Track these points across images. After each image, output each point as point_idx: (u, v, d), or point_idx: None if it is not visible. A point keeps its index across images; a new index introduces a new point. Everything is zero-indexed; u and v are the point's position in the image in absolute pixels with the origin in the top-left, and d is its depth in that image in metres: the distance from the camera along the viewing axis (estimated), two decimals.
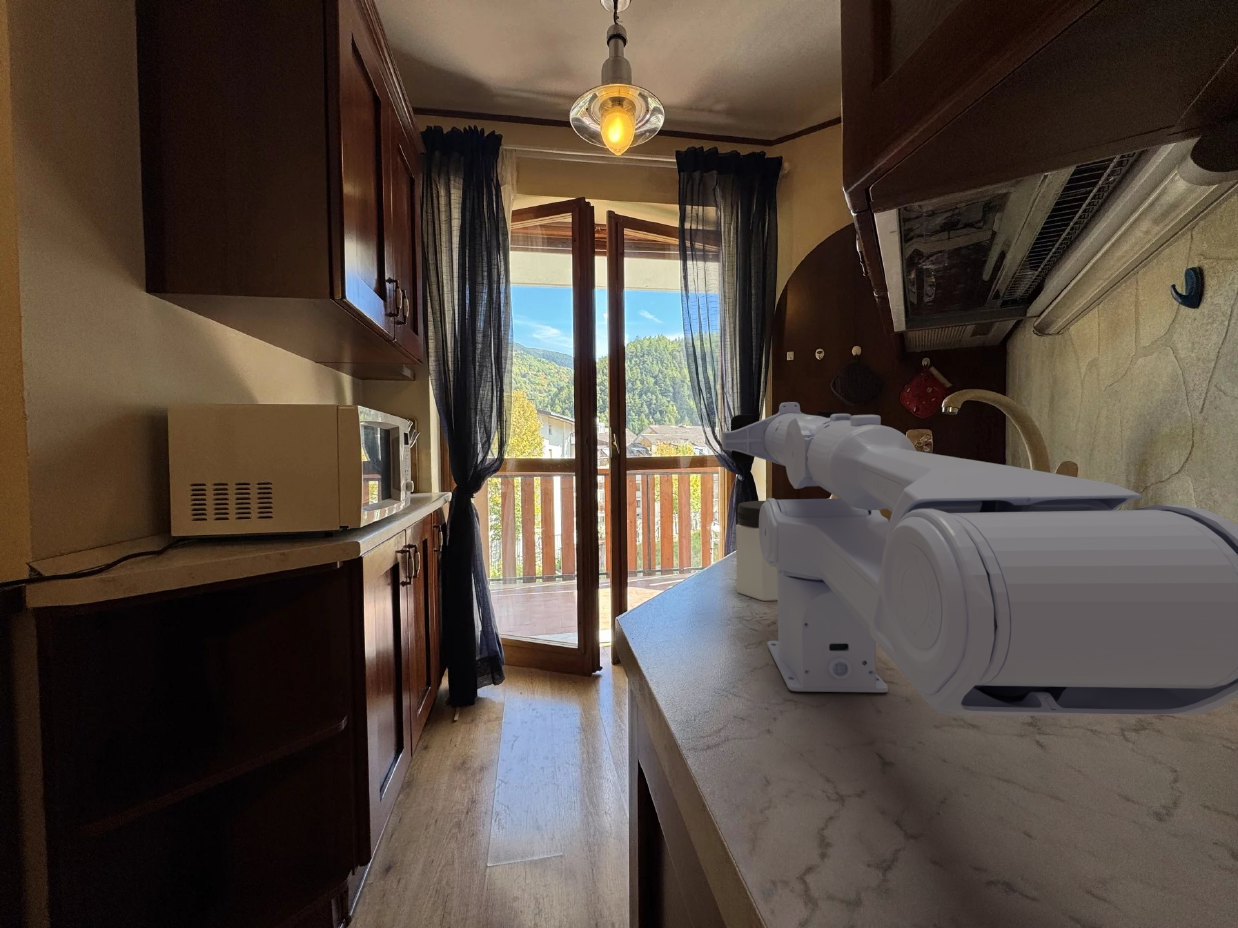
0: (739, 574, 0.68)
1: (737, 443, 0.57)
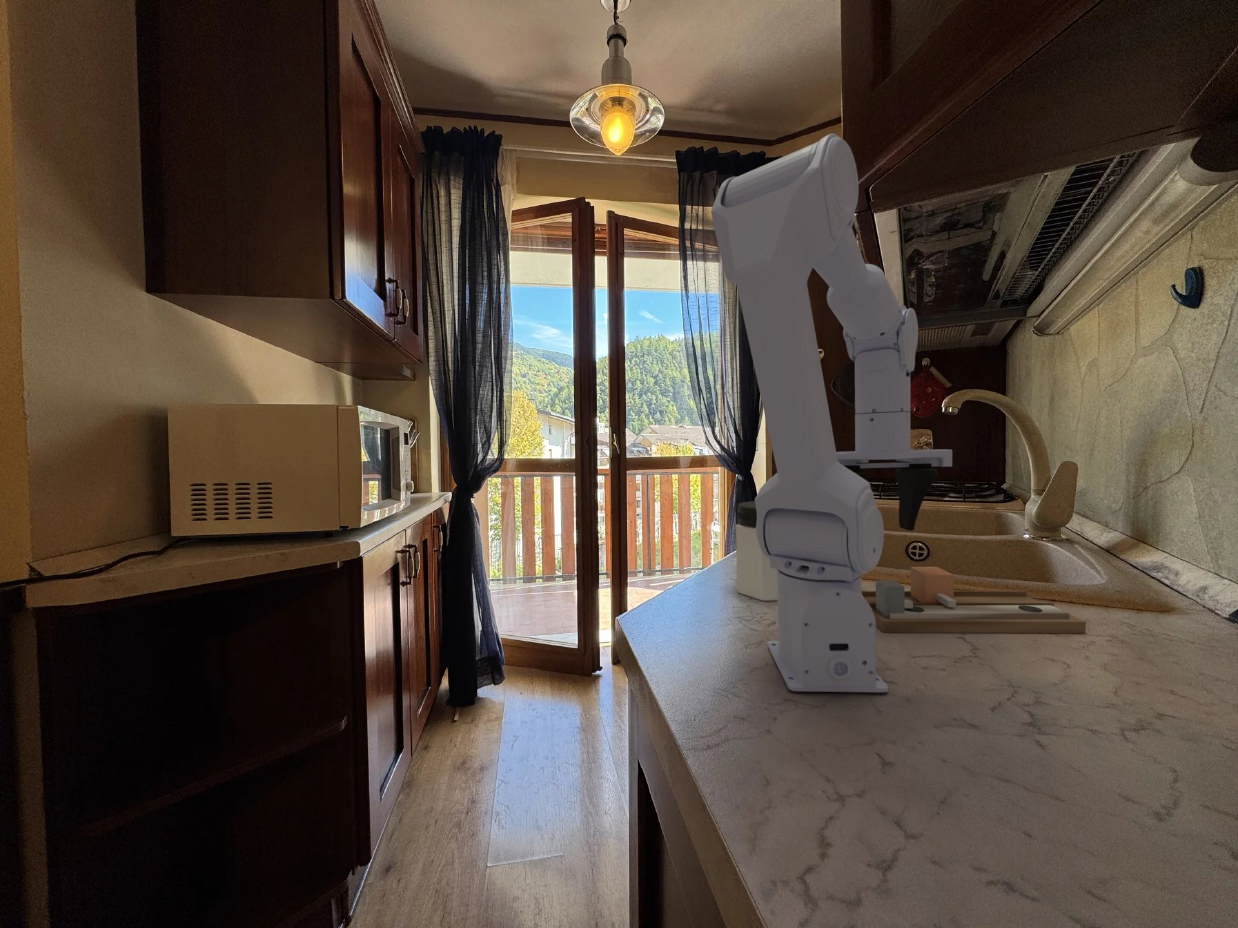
0: (739, 574, 0.68)
1: None
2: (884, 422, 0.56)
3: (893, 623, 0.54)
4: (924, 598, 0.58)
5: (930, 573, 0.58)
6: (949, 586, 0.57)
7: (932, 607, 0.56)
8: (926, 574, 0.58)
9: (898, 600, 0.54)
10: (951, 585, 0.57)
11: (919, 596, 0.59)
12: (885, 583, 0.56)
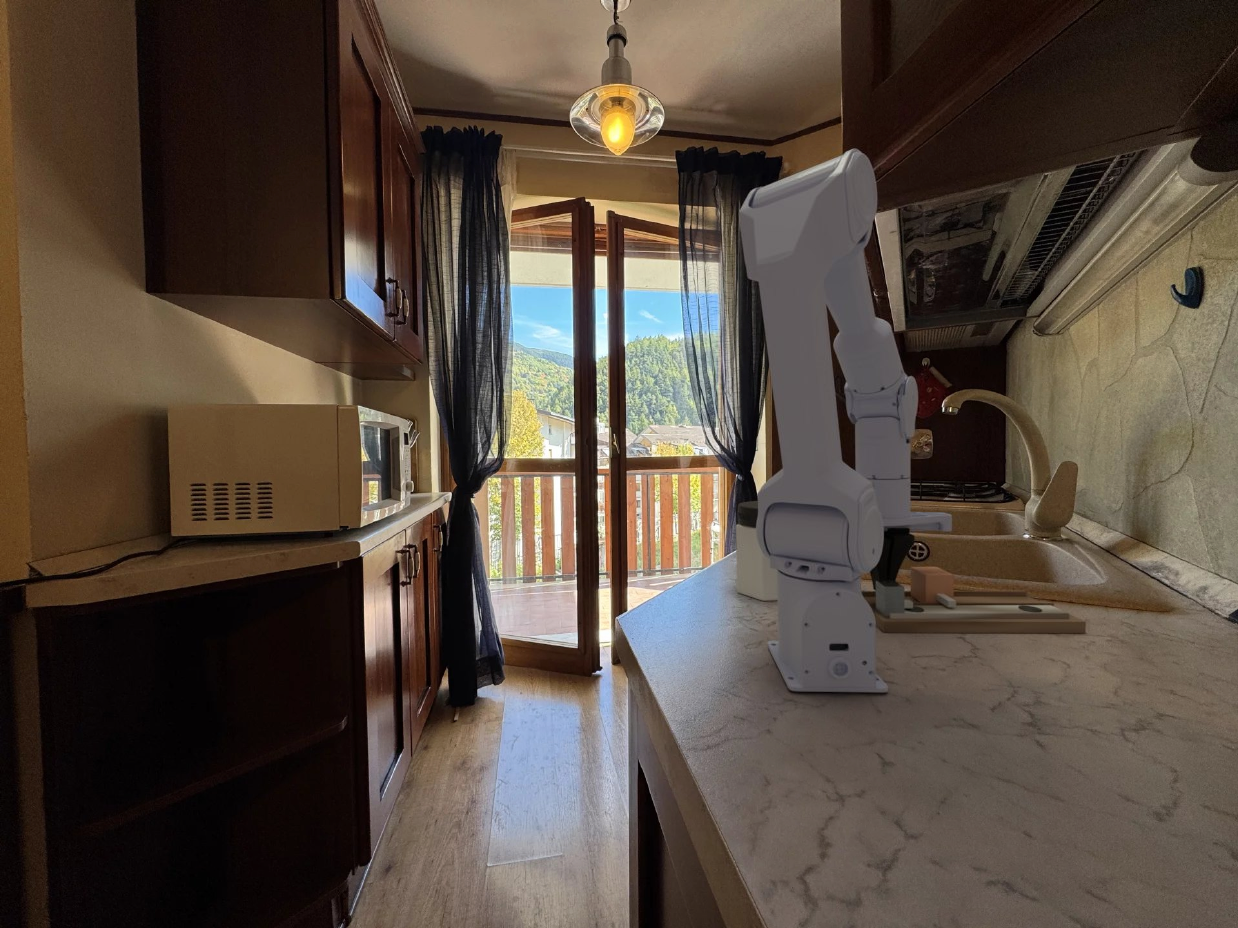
0: (739, 574, 0.68)
1: None
2: (884, 489, 0.57)
3: (893, 623, 0.54)
4: (924, 598, 0.58)
5: (930, 573, 0.58)
6: (949, 586, 0.57)
7: (932, 607, 0.56)
8: (926, 574, 0.58)
9: (898, 600, 0.54)
10: (951, 585, 0.57)
11: (919, 596, 0.59)
12: (885, 583, 0.56)
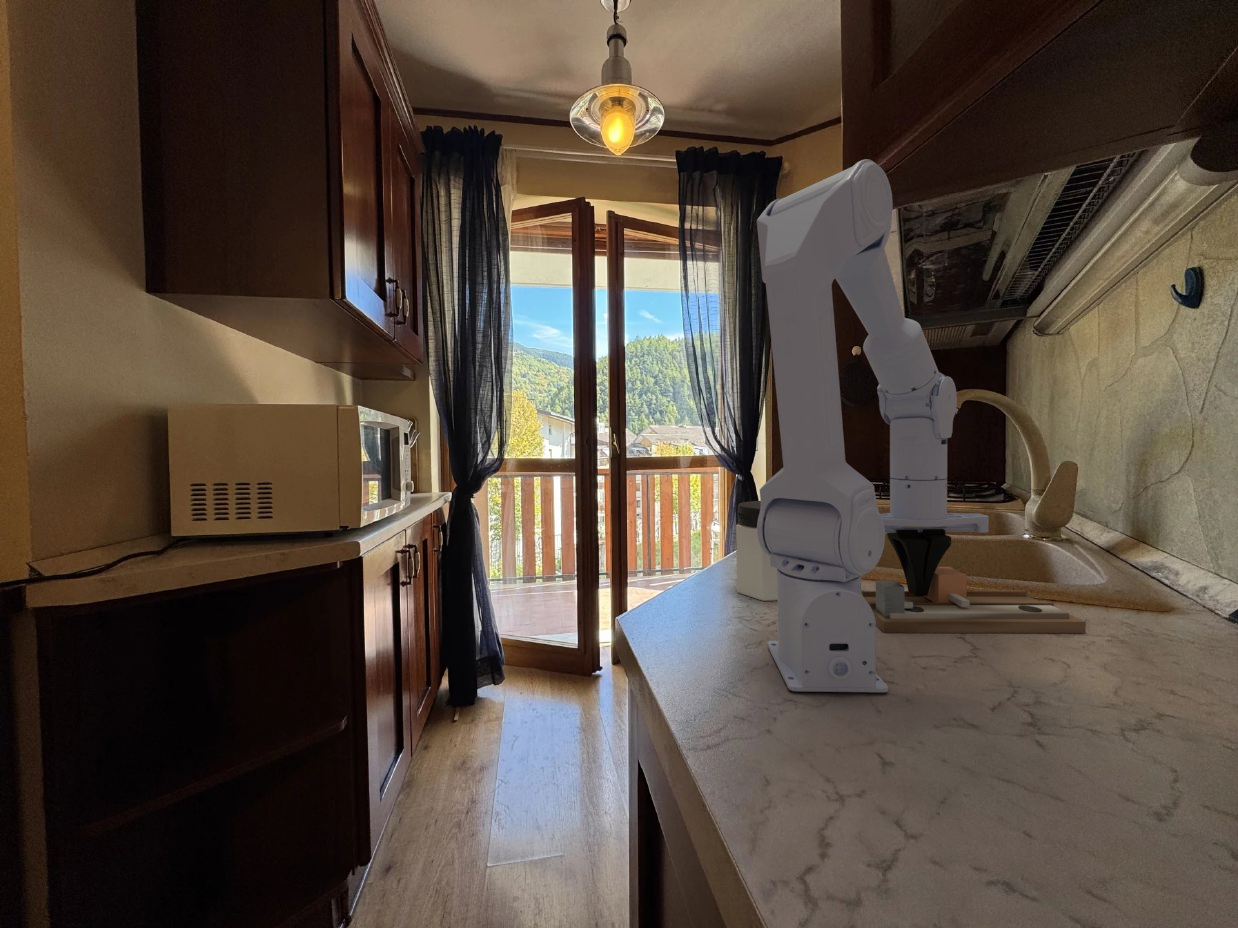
0: (739, 574, 0.68)
1: None
2: (921, 490, 0.56)
3: (893, 623, 0.54)
4: (937, 598, 0.58)
5: (943, 573, 0.58)
6: (962, 586, 0.57)
7: (932, 607, 0.56)
8: (939, 574, 0.58)
9: (898, 600, 0.54)
10: (963, 585, 0.57)
11: (932, 596, 0.59)
12: (885, 583, 0.56)
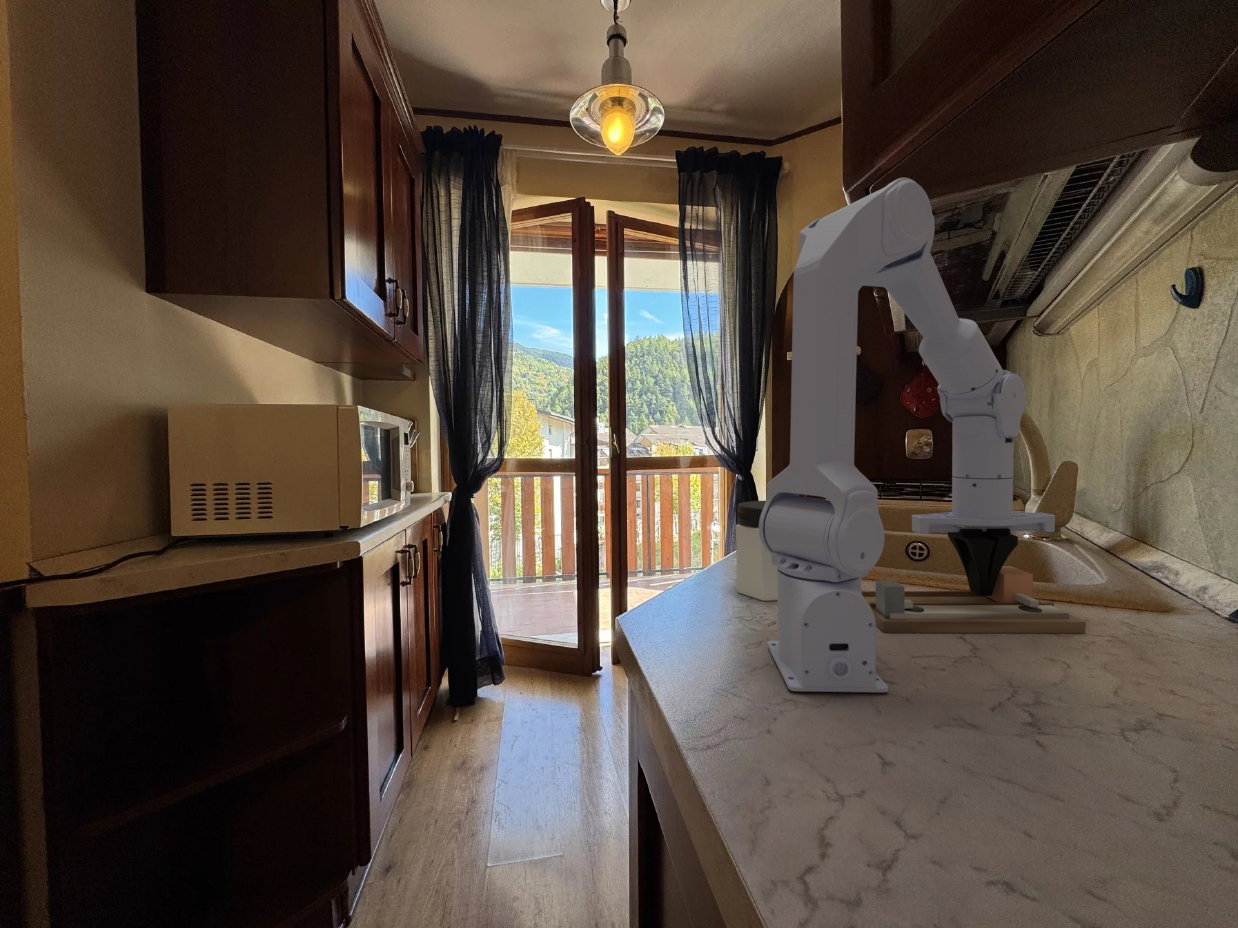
0: (739, 574, 0.68)
1: None
2: (988, 489, 0.56)
3: (893, 623, 0.54)
4: (1002, 598, 0.57)
5: (1008, 572, 0.57)
6: (1028, 586, 0.57)
7: (932, 607, 0.56)
8: (1004, 573, 0.57)
9: (898, 600, 0.54)
10: (1030, 585, 0.57)
11: (995, 596, 0.58)
12: (885, 583, 0.56)
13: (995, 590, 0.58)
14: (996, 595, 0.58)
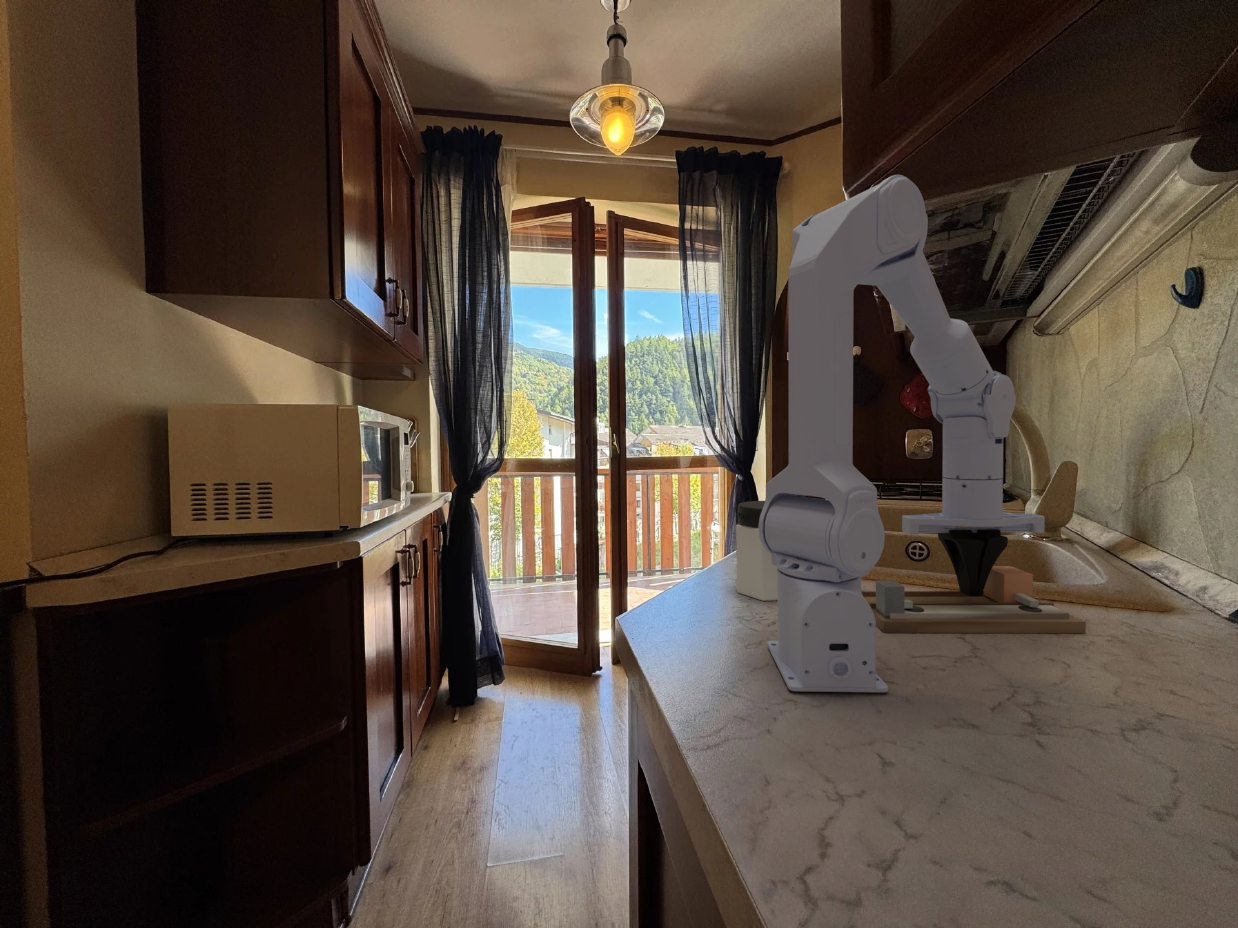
0: (739, 574, 0.68)
1: None
2: (978, 489, 0.56)
3: (893, 623, 0.54)
4: (1002, 598, 0.57)
5: (1008, 572, 0.57)
6: (1028, 586, 0.57)
7: (932, 607, 0.56)
8: (1004, 573, 0.57)
9: (898, 600, 0.54)
10: (1030, 585, 0.57)
11: (995, 596, 0.58)
12: (885, 583, 0.56)
13: (995, 590, 0.58)
14: (996, 595, 0.58)
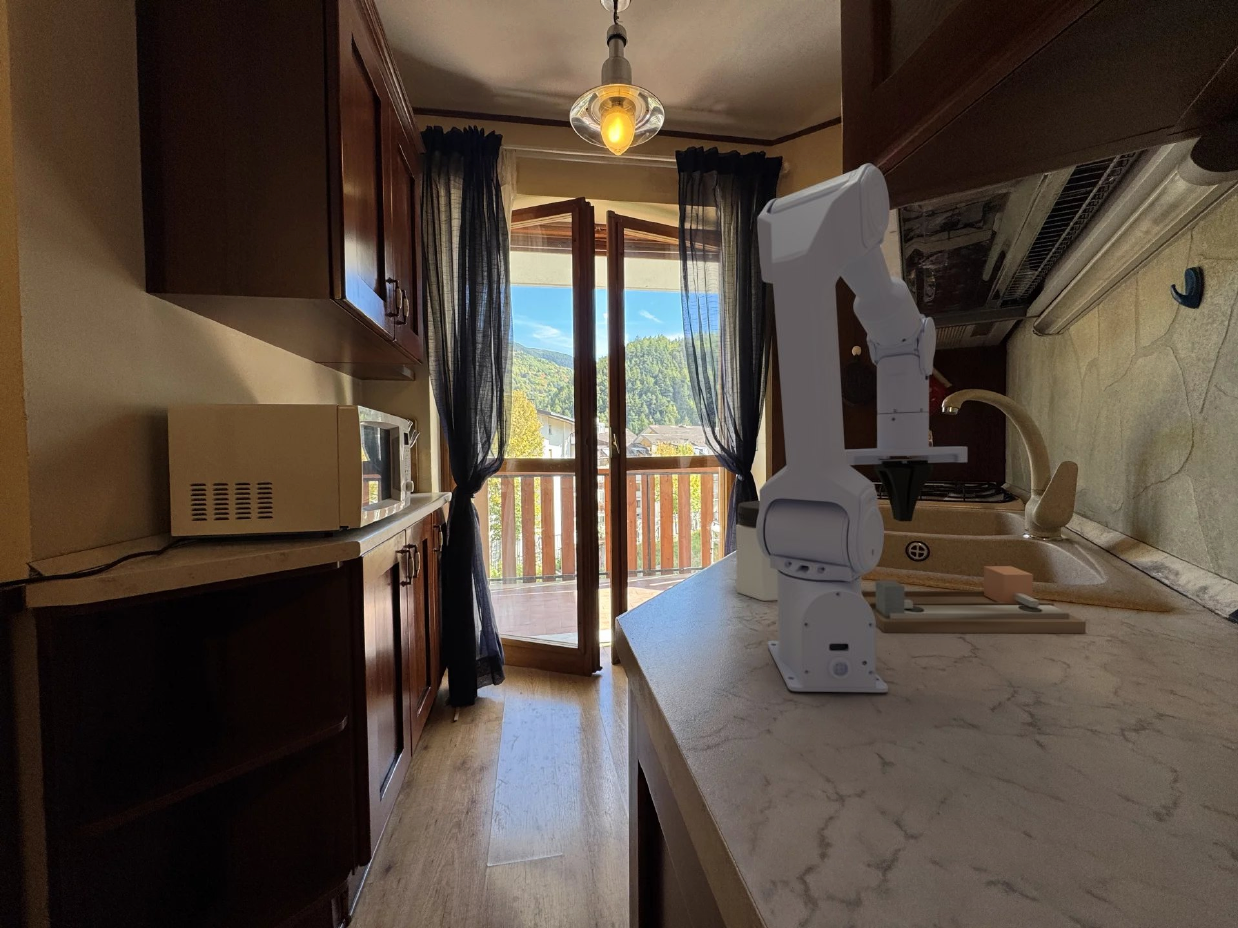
0: (739, 574, 0.68)
1: None
2: (905, 421, 0.61)
3: (893, 623, 0.54)
4: (1002, 598, 0.57)
5: (1008, 572, 0.57)
6: (1028, 586, 0.57)
7: (932, 607, 0.56)
8: (1004, 573, 0.57)
9: (898, 600, 0.54)
10: (1030, 585, 0.57)
11: (995, 596, 0.58)
12: (885, 583, 0.56)
13: (995, 590, 0.58)
14: (996, 595, 0.58)
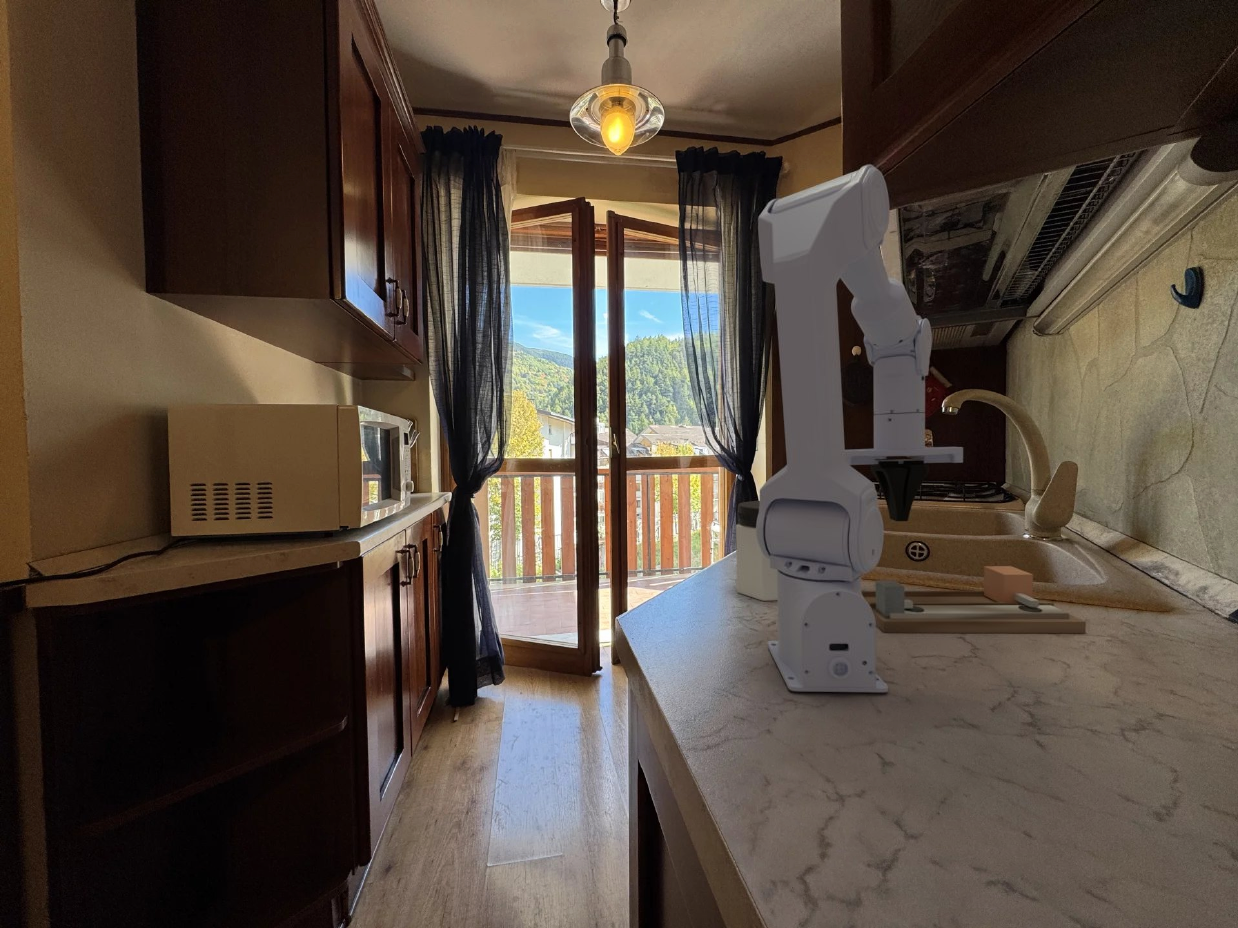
0: (739, 574, 0.68)
1: None
2: (901, 422, 0.62)
3: (893, 623, 0.54)
4: (1002, 598, 0.57)
5: (1008, 572, 0.57)
6: (1028, 586, 0.57)
7: (932, 607, 0.56)
8: (1004, 573, 0.57)
9: (898, 600, 0.54)
10: (1030, 585, 0.57)
11: (995, 596, 0.58)
12: (885, 583, 0.56)
13: (995, 590, 0.58)
14: (996, 595, 0.58)
